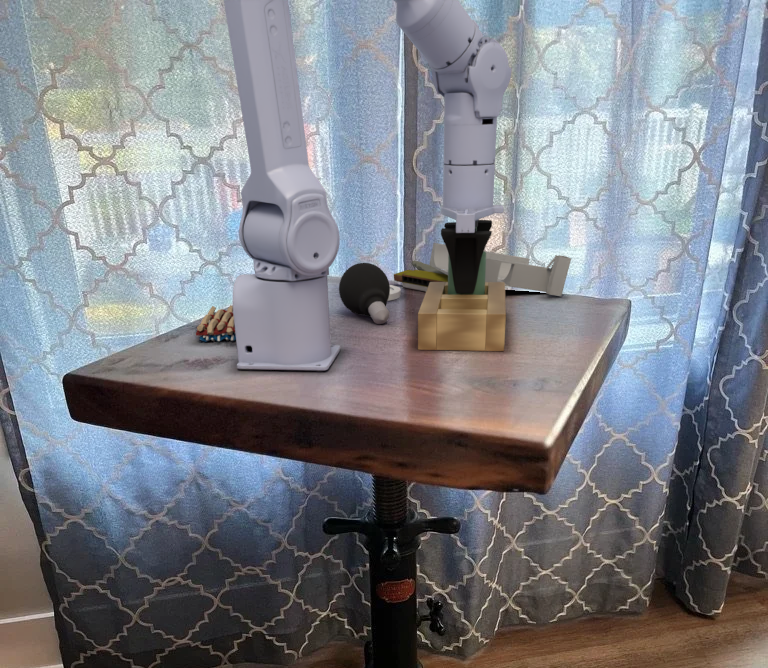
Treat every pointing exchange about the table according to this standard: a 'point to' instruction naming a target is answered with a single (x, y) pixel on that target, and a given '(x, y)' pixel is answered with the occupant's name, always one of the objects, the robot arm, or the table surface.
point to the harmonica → (419, 279)
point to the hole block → (462, 319)
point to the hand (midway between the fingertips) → (465, 288)
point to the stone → (425, 267)
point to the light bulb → (366, 291)
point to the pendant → (394, 292)
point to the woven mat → (217, 325)
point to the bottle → (480, 279)
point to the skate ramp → (514, 270)
